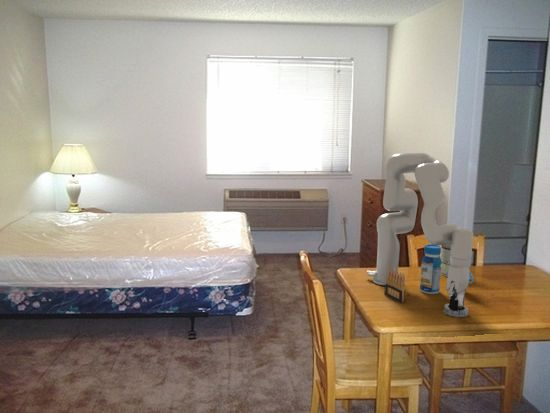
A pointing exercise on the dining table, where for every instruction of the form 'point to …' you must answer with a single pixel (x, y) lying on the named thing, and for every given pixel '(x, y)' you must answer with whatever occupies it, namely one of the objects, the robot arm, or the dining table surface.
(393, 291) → the ammunition clip
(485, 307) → the dining table surface
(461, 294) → the silver metal cylinder
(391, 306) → the dining table surface
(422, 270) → the blue lidded canister
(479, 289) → the dining table surface
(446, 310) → the duct flange
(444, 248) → the coffee can
